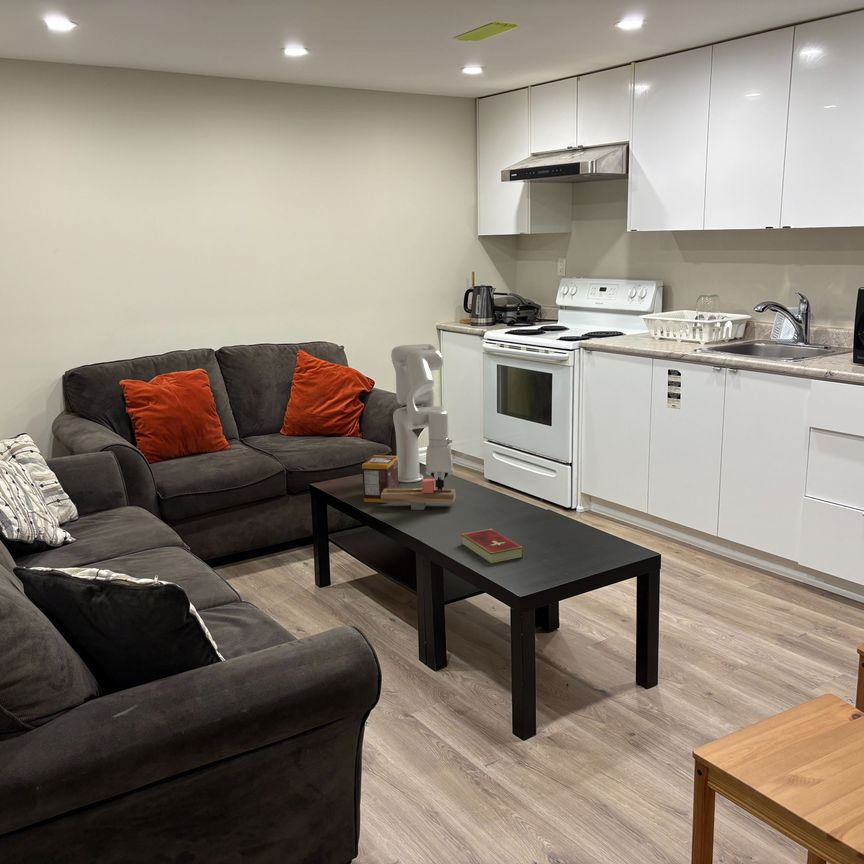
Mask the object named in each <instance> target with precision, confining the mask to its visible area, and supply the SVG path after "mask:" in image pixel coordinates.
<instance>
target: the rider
mask: <svg viewBox="0 0 864 864" xmlns="http://www.w3.org/2000/svg"><path fill="white" fill-rule="evenodd" d="M420 484H421V487H420V488H422V493H433V492H434V490H435V489H436V480H435V478H423V479H422V480H421V483H420Z"/></svg>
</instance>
